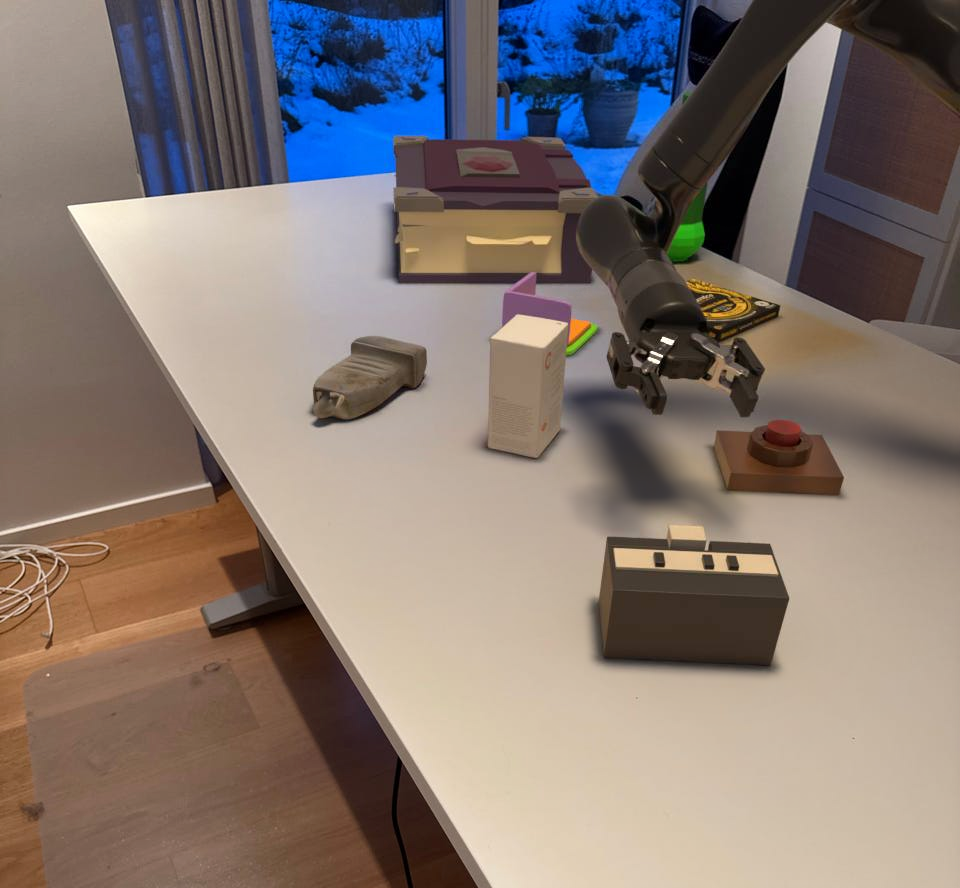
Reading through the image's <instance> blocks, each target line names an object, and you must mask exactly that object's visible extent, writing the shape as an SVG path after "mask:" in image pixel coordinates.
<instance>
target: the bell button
mask: <svg viewBox="0 0 960 888" xmlns="http://www.w3.org/2000/svg"><path fill="white" fill-rule="evenodd" d="M766 425H767V429H766V433H765V437H764V440H765V441H767V442H768V443H770V444H772V445H776V446H780V447H793V446H797V445H798V441H799V437H800V434H801V431H802V427H801V426H800V425H799V424H798V423H797V422H795V421H791V420H788V419H773V420H770V421H769V422H767V424H766Z"/></svg>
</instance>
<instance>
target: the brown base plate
mask: <svg viewBox="0 0 960 888" xmlns="http://www.w3.org/2000/svg"><path fill="white" fill-rule="evenodd" d="M767 425H768V424H766V425H762V426H756V427H755V428H754V429H753V430H752V431H745V430H744V431H741V430H740V431H739V430H722V429H721V430H719V429H718V430H716V432H715V438H714V442H713V450H714V453H715V457H716V460H717V462H718V466H719V469H720V472H721V476H722V478H723V481H724V484H725V487H726V490H727V491H735V492H736V491H737V492H758V493H780V494H781V493H783V494H802V495H804V494H805V495H824V496H825V495H826V496H827V495H829V496H840V493H841V488H842V486H843V482H844V479H845V476H844V474H843V472H842V470H841V469H840V467H839V465H838V463H837V461H836V459H835V457H834V455H833V453H832V451H831V450H830V447H829V446H828V443H827V442H826V440H825V438H824V436H823V434H815V433H813V434H810V433H806V432H804V431H802V430H801V434H800V437H799V441H798V445H797V446H793V447H780V446H776V445H772V444H770V443H768V442H767V441H765V440H764V437H765V433H766V429H767Z"/></svg>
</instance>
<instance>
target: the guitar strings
mask: <svg viewBox="0 0 960 888" xmlns="http://www.w3.org/2000/svg"><path fill="white" fill-rule="evenodd" d="M685 282H686V283H687V285H688V287H689V288H690V290H691V292H692V294H693V296H694V297H695V299H696V301H697V303H698V305H699V306H700V308H701V310H702V312H703V314H704V315H705V318H706V320H707V324H708V330H709V335H710V336H711V337H712V338H713V339H715V340H716V341H717V342H718V343H720V342H723V341H725V340H727V339H730V338H732V337H735V336H737V335H739V334H741V333H744V332H746V331H748V330H749V331H750V330H751V329H753V328H756V327H758V326H761V325H762V324H765V323H767V322H770V321H772V320H774V319H776V318H778V317H779V314H780V310H781V304H777V303H774V302H772V301H768V300H764V299H761V298H758V297H755V296H751V295H748V294H745V293H742V292H738V291H735V290H733V289H732V290H731V289H729V288H726V287H721V286H718V285H716V284H712V283H709V282H706V281H703V280H699V279H696V278H692V279H689V280H685Z"/></svg>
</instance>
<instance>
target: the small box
mask: <svg viewBox="0 0 960 888" xmlns="http://www.w3.org/2000/svg"><path fill="white" fill-rule="evenodd" d="M567 336H568V323H565V322H561V321H556V320H550V319H544V318H538V317H532V316H525V315H518V314H517V315H516V316H515V317H514V318H512V319H511V320H510V321H509V322H508V323H507V324H506V325H505V326H503V327H502V326H501V328H500V329H499V330H497V331H496V332H495V333H494V334H492V336H491V337H489V377H488V378H489V379H488V380H489V381H488V415H487V416H488V417H487V418H488V420H487V448H488V449H491V450H497V451H502V452H504V453H505V452H506V453H510V454H515V455H519V456H523V457H529V458H533V459H538V458H539V457H540V456H541V454H542V453H543V452H544V451H545V449H546V448H547V447H548V445H550V443H551V442H552V441H553V439H554V438H555V437H556V436H557V435H558V433H559V432H560V431H561V425H562V413H563V396H564V384H565V372H566V362H567V360H566V359H567V355H566V349H567Z"/></svg>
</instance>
